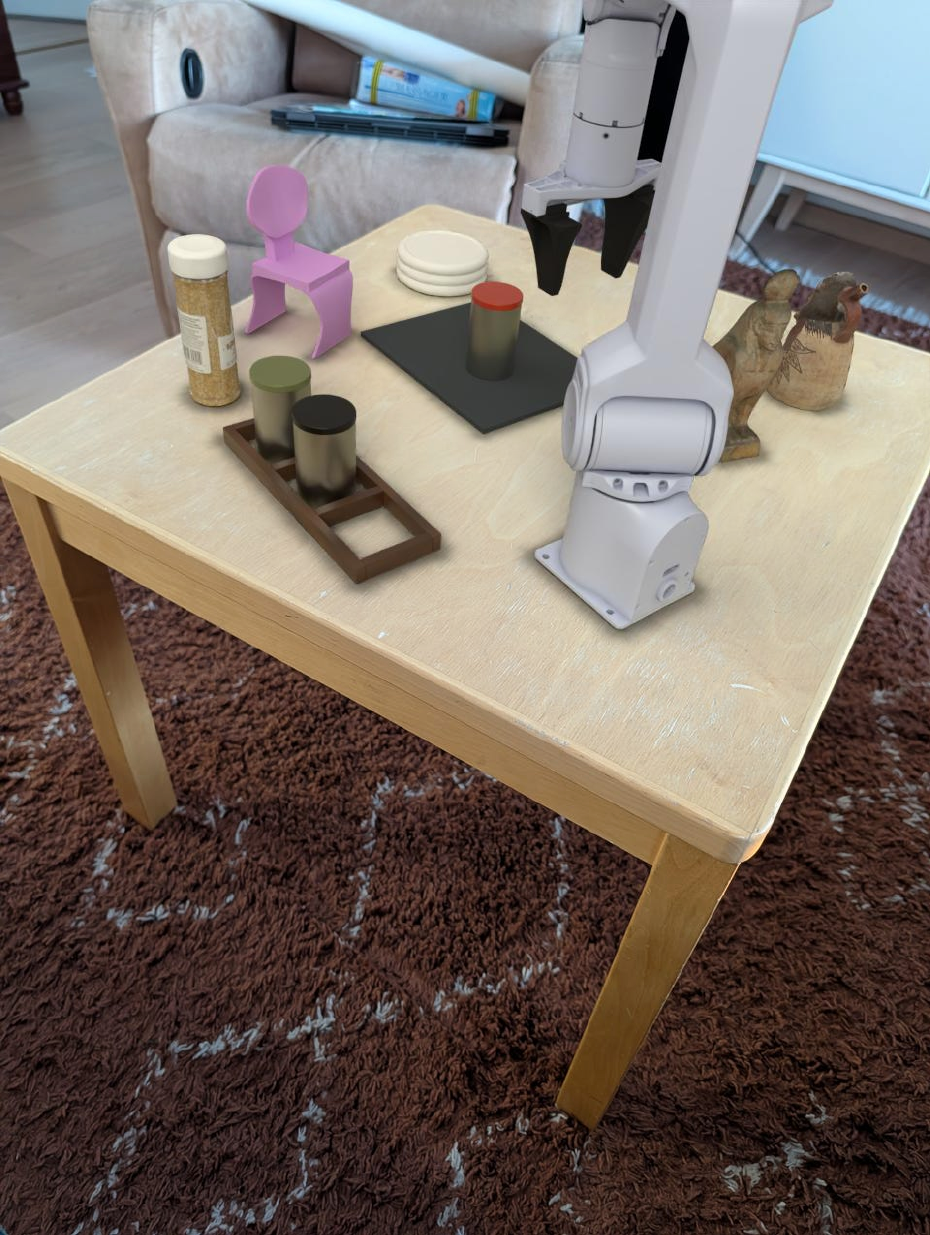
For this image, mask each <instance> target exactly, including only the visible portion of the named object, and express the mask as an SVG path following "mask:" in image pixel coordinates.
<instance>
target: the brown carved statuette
mask: <svg viewBox="0 0 930 1235" xmlns="http://www.w3.org/2000/svg"><path fill="white" fill-rule="evenodd" d="M800 282H801V277H800V275H799V274H798V272H797V270H795V269H793V268H784V269H781V270H778V271H777V272H775V273H773V274H772V275H771V277H769V278H768V280H766V282H765V284H764V285H763V286H762V287H763V288H762V298H759V299H757V300H755V301H754V302H752V303H751V304H749V306H748V307H747V308H746V309H745V310H744V311H743V312H742V314H741V315H740V316H739V318H738V319H737V320H736V322H735V323H734V324H733V325H732V326H731V327H730V328H729V330H728V331H727V333H725V335H724V336H722V338H720V339H719V340H718V341H717V342H716V343H714V344H713V345H711V346H712V347H713V348H714V349H715V350H716V351H717V352H718V353H719V354H720V356H721V357H722V358H723V359H724V360H725V362H726V364H727V366H728V369H729V372H730V375H731V380H732V385H733V390H734V395H733V399H732V403H731V407H730V411H729V416H728V429H727V436H726V442H725V446H724V449H723V453H722V455H721V458H720V460H719V461H718V463H724V462H730V461H736V460H742V459H743V460H744V459H747V458H750V459H751V458H755V457H759V455H760V449H761V439H760V437H759V436H758V434H757V433H756V432H755V431H754V430H753V429H752V428H750V426H749V425H748V421H749V418H750V416H751V414H752V412H753V410H754V408H755V407H756V405H757V403H758V402H760V401H759V400H760V399H761V398H762V396H763V395H764V393H765V392H766V391H767V388H768V386H769V385H770V383H771V382H772V381H773V380H774V378H775V376H776V374H777V372H778V370H779V367H780V364H781V362H782V359H783V343H782V342H783V341H782V339H783V337H784V334H785V331H786V329H787V327H788V325H789V324H790V322H791V320H792V314H793V313H792V312H793V310H792V305H791V302H790V301H789V300H790V299H791V297H793V295H794V294H795V292H796V289H797V288H798V285H799V284H800Z"/></svg>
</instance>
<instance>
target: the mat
mask: <svg viewBox="0 0 930 1235" xmlns="http://www.w3.org/2000/svg"><path fill="white" fill-rule="evenodd" d="M470 309H471V301H470V302H467V303H463V304H459V305H456V306H455V305H454V306H451V307H447V308H444V309H439V310H436V311H432V312H429V313H425V314H421V315H418V316H414V317H410V318H406V319H403V320H398V321H396V322H395V321H394V322H392V323H388V324H383V325H379V326H377V327H373V328H369V329H365V330H362V331H360V337H361V338H362V339H364V340H365V341H366V342H367V343H369V344H370V345H371V346H372V347H374V348H375V349H376V350H377V351H378V352H380V353H381V354H383V355H384V356H385V357H386V358H388V360H390V361H391V362H392V363H393V364H395V365H396V366H397V367H399V368H400V369H401V370H402V371H404V372H405V373H406V374H408V376H410V377H411V378H412V379H414V380H415V381H416V382H418V383H419V384H420V385H421V386H423V387H424V388H425V389H426V390H428V391H429V392H430V393H431V394H433V395H434V396H435V397H436V398H438V399H439V400H440V401H441V402H442V403H443V404H445V405H446V406H447V407H449V408H450V409H451V410H452V411H454V412H455V413H456V414H457V415H459V416H460V417H461V418H462V419H464V420H465V421H466V422H468V423H469V424H470V425H471V426H473V427H474V428H475V429H476V430H477V431H479V432H480V433H481V434H483V435H484V434H486V433H490V432H493V431H496V430H498V429H501V428H504V427H506V426H510V425H512V424H515V423H518V422H520V421H524V420H526V419H529V418H533V417H534V416H539V415H540V414H543V413H546V412H549V411H551V410H554V409H557V408H560V407H563V406H564V400H565V395H566V391H567V388H568V385H569V383H570V382H571V381H572V378H573V375H574V371H575V367H576V363H577V359H578V358H579V357H577V356H576V355H574V354H572V353H571V352H570V351H568V350H566V349H565V348H563V347H562V346H561V345H560V344H558V343H556V342H555V341H553V340H551V339H550V338H549V337H547V336H546V335H544V334H543V333H541V332H540V331H538V330H536V329H535V328H534V327H532V326H530V325H529V324H528V323H526V322H525V321H523V320H521V319H520V324H519V331H518V339H517V347H516V354H515V362H514V370H513V373H512V374H511V375H510V376H509V377H507V378H505V379H502V380H484V379H480V378H477V377H475V376H473V375H471V374H470V373H469V372H468V371H467V369H466V366H465V365H466V354H467V343H468V332H469V321H470Z"/></svg>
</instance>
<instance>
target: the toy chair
mask: <svg viewBox="0 0 930 1235" xmlns="http://www.w3.org/2000/svg"><path fill="white" fill-rule="evenodd" d="M308 191H309V190H308V183H307V180H306V178H305V176H304V175H303V173H301V172H300V171H299V170H298V169H295V168H293V167H291V166H287V165H281V164H271V165H267V166H264V167H262V168H260V169H259V170H258V171H257V172H256V174H255V175H254V176H253V178H252V180H251V184H250V187H249V189H248V193H247V196H246V205H245V212H246V213H245V214H246V217H247V220H248V222H249V224H250V225H251V226H252V227H253V228H255V230H257V231H258V232H260V233H261V234H262V237H263V243H264V248H265V255H266V256H265V257H262V258H260V259H258V260H255V261H254V262H252V263H251V270H252V271H251V272H252V273H251V274H250V276H249V283H250V287H251V291H252V308H251V312H250V315H249V318H248V322H247V325H246V327H245V329H244V334H247V335H248V334H250V333H252V332H254V331H255V330H257V329H259V328H261V327H262V326H264V325H266V324H267V323H269V322H271V321H273V320H274V319H276V318H277V317H279V316H281V315H283V314H284V313H286V312H287V311H288V309H287V302H286V285H287V286H290V287H292V288H293V289H296V290H298V291H300V292H303V293H304V294H305V295H307V296H308V298H309V299H310V301H311V303H312V305H313V306H314V308H315V311H316V312H317V315H318V318H319V325H320V328H319V334H318V337H317V341H316V344H315V347H314V350H313V351H312V354H311V359H313V360H315V359H317V358H319V357H320V356H322V355H323V354H324V353H326V352H328V351H329V350H331V349H332V348H333V347H335V346H336V345H338V344H339V343H341V342H343V341H344V340H346V339H347V338H348V337H350V336H351V335H352V318H351V317H352V316H351V315H352V313H351V312H352V301H353V300H352V298H353V289H354V288H353V287H354V277H353V276H354V275H353V273H352V271H351V269H350V259H348V258H344V257H341V256H338V255H334V254H330V253H326V252H323V251H320V250H317V249H314V248H312V247H310V246H307V245H306V244H302V243H300V242H296V241H294V237H293V236H294V231H295V230H296V229H297V228H298V227H299V226H300V225H301V224H302V223H303V221H304V220H305V219H306V218H307V212H308V200H309V199H308V198H309V197H308V195H309V194H308V193H309V192H308Z"/></svg>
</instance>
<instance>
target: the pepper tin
mask: <svg viewBox="0 0 930 1235" xmlns="http://www.w3.org/2000/svg"><path fill="white" fill-rule="evenodd" d="M292 420H293V430H294V448H295V465H296V478H295V480H296V493H297V494H298V495H299V496H300V497H301V498H302V499H303V500H304V501H305V502H306V504H307V505H308V506H309V507H310V508H311V509H312V510H313V509H316V508H318V507H321V506H324V505H327V504H329V503H332V502H335V501H338V500H340V499H343V498H346V497H349V496H351V495H354V494H357V480H356V455H357V437H356V436H357V435H356V434H357V409H356V407H355V405H354V403H353V402H351V401H350V400H349V399H346V398H345V397H342V396H340V395H336V394H330V393H329V394H328V393H327V394H326V393H320V394H319V393H318V394H313V395H312V394H311V396H308V397H305V398H302V399H301V400H299V401H298V402H296V403H295V404H294V406H293V408H292Z"/></svg>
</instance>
